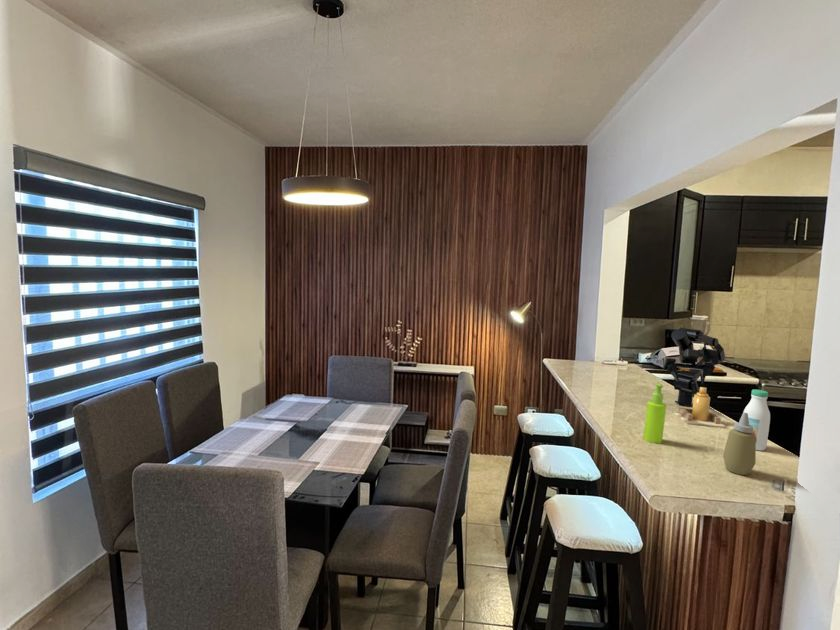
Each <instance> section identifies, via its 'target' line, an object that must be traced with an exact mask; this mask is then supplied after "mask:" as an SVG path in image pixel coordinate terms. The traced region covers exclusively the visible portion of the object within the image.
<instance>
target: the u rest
mask: <svg viewBox="0 0 840 630" xmlns="http://www.w3.org/2000/svg"><path fill="white" fill-rule="evenodd" d="M678 409H679V410H678V411H674V415H676V416H677V417H678V418H679V417H680V419H681V421H683V422H684V423H685V422H686V423H685V424H687V425H691V424H694V425H693V426H700V425H703V426H704V427H709V426H712V427H713V428H718V427H720V429H727V426H726V425H725V424H723V423H721V419H722V418H721V417H720V416H718V415H716V413H713V412H712V411H711V410H709V412H708V420H707V421H699V420H695V419H693V415H692V409H693V408H687V407H678ZM703 426H702V427H703ZM712 427H711V428H712Z"/></svg>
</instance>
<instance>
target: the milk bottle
mask: <svg viewBox="0 0 840 630" xmlns="http://www.w3.org/2000/svg"><path fill="white" fill-rule="evenodd" d="M750 396H751V399H750V401H749V402H748V404H747V405H746V406H745V408H744V409H743V412H742V414H743V413H748V419H749V425H751V426H753V432H752V433H753V434H754V435H755V436H756V451H761V452H762V451H765V450H766V449H767V444H768V437H769V432H770V424H771V411H770V410H769V406H768V403H767V402H768V401H767V400H768V397H769V392H768V391H766V390H762V389H757V388H756V389H752V390H751V395H750Z"/></svg>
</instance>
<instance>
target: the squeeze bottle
mask: <svg viewBox="0 0 840 630" xmlns="http://www.w3.org/2000/svg"><path fill="white" fill-rule="evenodd" d="M752 432H753V426H751V425H749V419H748V413H743V412H742V414H741V417H740V418H739V422H734V424H733V428H732V429H730V430H729V432H728V435H727V439H726V443H725V446H724V450H723V453H722V457H723V461H724V462H723V463H724V466H725V469H726V470H727V471H728V472H730V473H734V474H735V475H736V474H737V475H741V476H742V475H743V476H746V475H749V474H750V473H751V472H752V471H753V469H754V467H755V465H756V452H757V450H756V436H755V435H754V434H753V433H752Z"/></svg>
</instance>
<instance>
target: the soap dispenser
mask: <svg viewBox="0 0 840 630" xmlns="http://www.w3.org/2000/svg"><path fill="white" fill-rule="evenodd" d="M654 385H655V391H653V392H652V394H651V395H652V396H651V400H650V401H646V412H645V420H644V428H643V437H642V439H643V440H644V441H646V442H648V443H650V444H651V443H652V444H662V443H663V435H664V428H665V427H664V426H665V418H666V413H667V404H666V403H664V401H663V400H664V394H663V392H662V388H663V387H664V386H663V383H660V382H654Z"/></svg>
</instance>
